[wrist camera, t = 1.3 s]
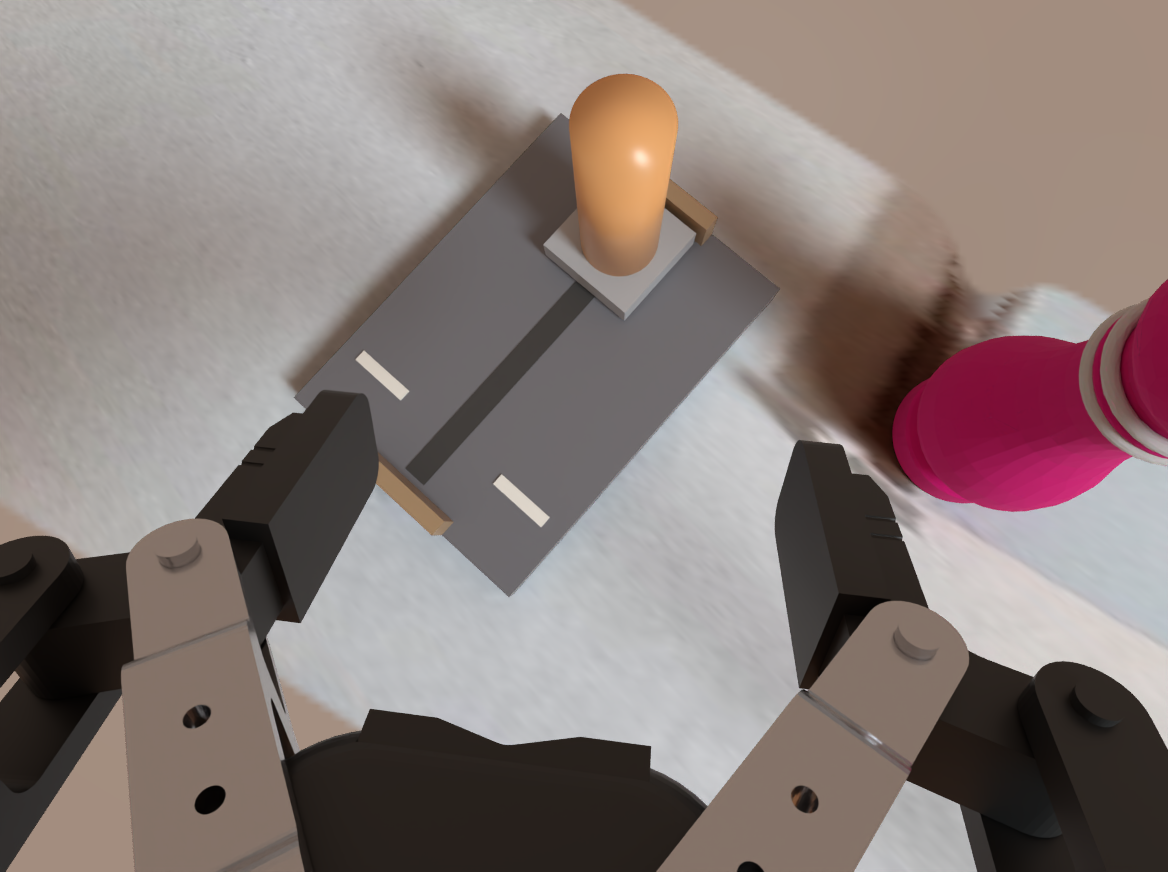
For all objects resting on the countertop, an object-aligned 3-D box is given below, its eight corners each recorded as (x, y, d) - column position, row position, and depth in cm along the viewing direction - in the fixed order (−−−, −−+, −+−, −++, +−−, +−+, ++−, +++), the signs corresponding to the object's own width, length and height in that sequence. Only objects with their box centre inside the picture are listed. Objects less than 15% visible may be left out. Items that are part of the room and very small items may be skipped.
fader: (545, 255, 33) (517, 132, 23) (614, 180, 33) (616, 27, 23) (624, 320, 32) (630, 224, 22) (693, 244, 32) (730, 115, 22)
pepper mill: (881, 359, 33) (1284, 108, 13) (1034, 369, 33) (1678, 126, 13) (878, 507, 32) (1307, 473, 12) (1035, 519, 32) (1733, 503, 12)
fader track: (307, 403, 34) (275, 389, 31) (563, 130, 35) (558, 89, 32) (513, 593, 32) (502, 601, 29) (772, 299, 34) (789, 274, 30)
